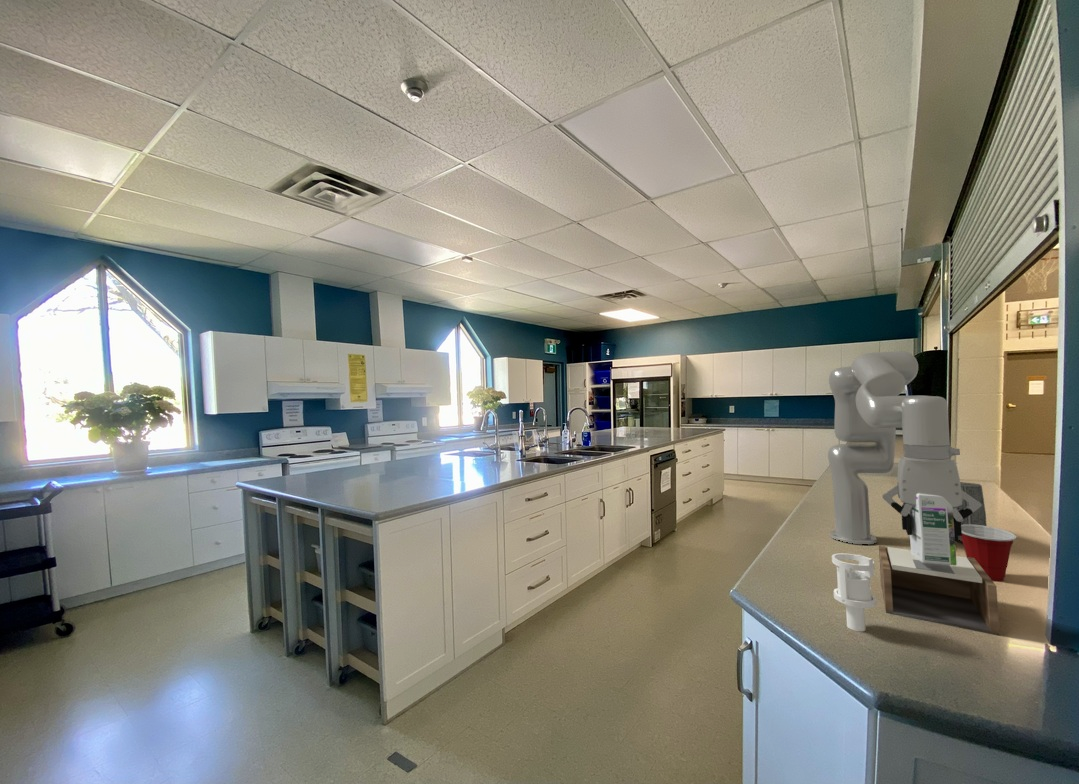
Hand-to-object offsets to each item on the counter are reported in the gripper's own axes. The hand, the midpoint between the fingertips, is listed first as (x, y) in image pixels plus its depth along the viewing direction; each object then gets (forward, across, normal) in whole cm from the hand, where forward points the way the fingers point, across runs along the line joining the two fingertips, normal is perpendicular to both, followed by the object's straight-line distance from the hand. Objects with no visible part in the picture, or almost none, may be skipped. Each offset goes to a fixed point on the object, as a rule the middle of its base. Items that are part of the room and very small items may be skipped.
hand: (931, 535), depth 92 cm
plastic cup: (+17, -14, -33) cm, 40 cm away
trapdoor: (+8, 0, -5) cm, 9 cm away
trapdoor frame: (+17, 0, -5) cm, 18 cm away
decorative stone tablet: (+18, -11, -73) cm, 76 cm away
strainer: (+17, +14, +15) cm, 27 cm away
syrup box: (+5, 0, 0) cm, 5 cm away
